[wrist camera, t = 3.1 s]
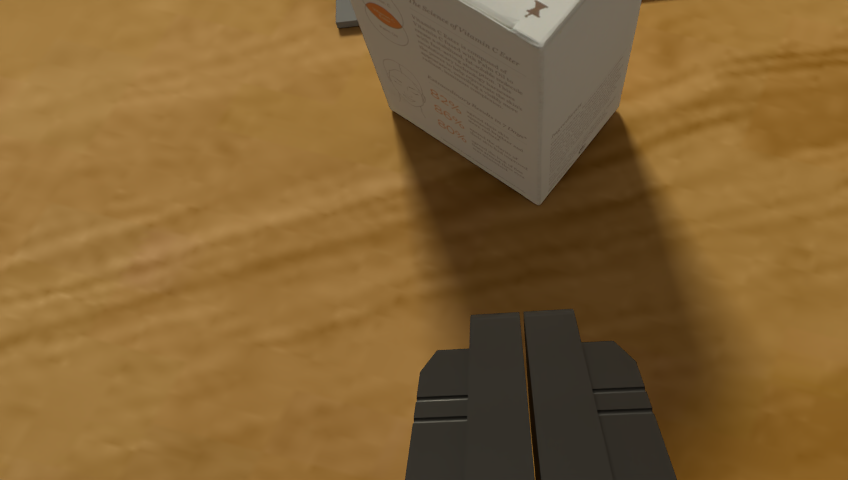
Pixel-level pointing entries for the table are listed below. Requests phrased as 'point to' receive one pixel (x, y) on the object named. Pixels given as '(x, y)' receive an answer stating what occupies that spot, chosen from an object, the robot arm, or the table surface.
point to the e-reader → (345, 14)
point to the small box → (504, 77)
